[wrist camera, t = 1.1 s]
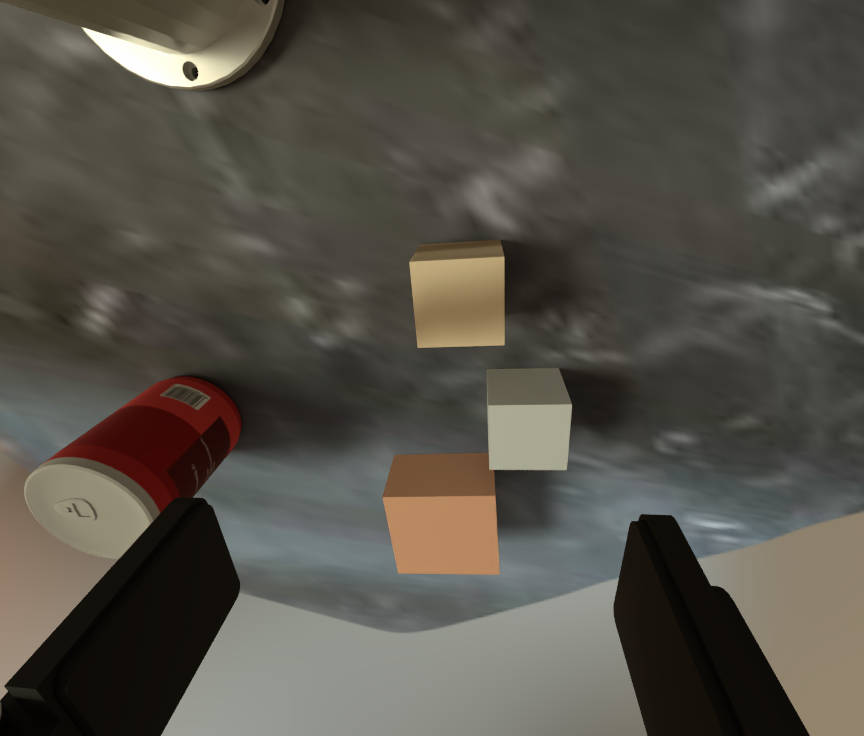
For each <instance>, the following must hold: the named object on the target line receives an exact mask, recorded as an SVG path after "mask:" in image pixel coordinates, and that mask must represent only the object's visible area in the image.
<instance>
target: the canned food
mask: <svg viewBox="0 0 864 736" xmlns="http://www.w3.org/2000/svg"><path fill="white" fill-rule="evenodd" d="M241 426H242V422H241V416H240V413H239V411H238V408H237V407H236V405H235V404H234V402H233V401H232V400H231V399H230V397H229V396H228V395H227V394H226V393H224V392H223V391H222V390H221V389H220V388H218V387H216V386H215V385H213V384H211V383H209V382H207V381H204V380H202V379H198V378H194V377H186V376H182V377H174V378H170V379H167V380H163V381H160V382H158V383H156V384H154V385H153V386H151V387H150V388H148V389H147V390H146V391H144V392H143V393H141V394H140V395H138V396H137V397H136V398H134V399H133V400H131V401H130V402H129V403H127V404H126V405H124V406H123V407H121V408H120V409H119V410H117V411H116V412H114V413H113V414H112V415H110V416H109V417H107V418H106V419H104V420H103V421H102V422H100V423H99V424H97V425H96V426H95V427H93V428H92V429H90V430H89V431H87V432H86V433H85V434H83V435H82V436H80V437H79V438H78V439H76V440H75V441H73V442H72V443H70V444H69V445H68V446H66V447H65V448H63V449H62V450H61V451H59V452H58V453H56V454H55V455H54V456H53V457H51V458H50V459H49V460H47V461H46V462H44V463H43V464H42V465H41V466H40V467H39V468H38V469H37V470H35V471H34V472H33V473H32V474H31V475H30V476H29V477H28V478H27V481H26V483H25V488H24V495H25V499H26V503H27V505H28V507H29V509H30V511H31V513H32V514H33V515H34V517H35V518H36V519H37V521H38V522H39V523H40V524H41V525H42V526H43V527H44V528H45V529H46V530H48V531H49V532H50V533H51V534H52V535H54V536H55V537H57V538H58V539H60V540H61V541H63V542H64V543H66V544H68V545H70V546H72V547H74V548H76V549H78V550H80V551H83V552H86V553H89V554H91V555H96V556H99V557H105V558H112V559H119V558H120V557H121V556H122V555H123V554H124V553H125V552H126V551H127V550H128V549H129V547H130V546H131V545H132V544H133V543H134V542H135V541H136V540H137V539H138V537H139V536H140V535H141V534H142V533H143V532H144V531H145V530H146V529H147V528H148V526H149V525H150V524H151V523H152V522H153V521H154V520H155V519H156V518H157V516H158V515H159V514H160V513H161V512H162V511H163V510H164V509H165V508H166V506H167V505H168V504H169V503H170V502H171V501H172V500H173V499H175V498H177V497H188V498H193V497H194V495H195V494H196V493H197V492H198V491H199V489H200V488H201V487H202V486H203V484H204V483H205V482H206V481H207V480H208V478H209V477H210V476H211V475H212V473H213V472H214V471H215V470H216V469H217V467H218V466H219V465H220V464H221V463H222V461H223V460H224V459H225V458H226V456H227V455H228V454H229V453H230V452H231V450H232V449H233V448H234V446H235V445H236V444H237V441H238V439H239V436H240V432H241Z"/></svg>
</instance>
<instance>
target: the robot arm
mask: <svg viewBox="0 0 864 736" xmlns="http://www.w3.org/2000/svg"><path fill="white" fill-rule="evenodd" d="M0 2H3V3H7V4H10V5H13V6H16V7H19V8H22V9H26V10H29V11H32V12H35V13H38V14H42V15H45V16H48V17H51V18H54V19H57V20H61V21H64V22H67V23H70V24H73V25H76V26H80V27H81V28H82V29H83V31H84V32H85V33H86V35H87V36H88V37H89V38H90V39H91V40H92V41H93V42H94V43H95V44H96V45H97V46H98V47H99V48H100V49H101V50H102V51H103V52H104V53H105V54H106V55H107V56H109V57H110V58H111V59H113V60H114V61H115V62H117V63H118V64H119V65H121V66H122V67H123V68H125V69H126V70H127V71H129V72H131V73H133V74H135V75H137V76H139V77H141V78H143V79H145V80H147V81H149V82H152V83H155V84H159V85H162V86H165V87H169V88H174V89H180V90H186V91H203V90H212V89H215V88H218V87H221V86H225V85H228V84H230V83H231V82H233V81H235V80H236V79H238V78H239V77H241V76H243V75H244V74H246V73H247V72H248V71H249V70H250V69H251V68H252V67H253V66H254V65H255V64H256V63H257V62H258V61H259V60H260V58H261V57H262V55H263V54H264V52H265V51H266V49H267V47H268V46H269V44H270V43H271V41H272V39H273V37H274V34H275V32H276V29H277V27H278V24H279V21H280V19H281V16H282V12H283V7H284V2H285V0H269V2H268V4H266V3H265V0H0ZM197 69H198V77H197V75H196V71H197ZM239 590H240V581H239V578H238V575H237V573H236V570H235V567H234V564H233V562H232V559H231V556H230V553H229V551H228V548H227V545H226V542H225V540H224V537H223V534H222V531H221V529H220V526H219V523H218V520H217V518H216V515H215V512H214V509H213V507H212V506H211V505H208V503H207V501H206V500H205V499H203V498H188V497H177V498H175V499H173V500H172V501H171V502H170V503H169V504H168V505H167V506H166V508H165V509H164V510H163V511H162V512H161V513H160V514H159V515H158V516H157V518H156V519H155V520H154V521H153V522H152V523H151V524H150V525H149V526H148V528H147V529H146V530H145V531H144V532H143V533H142V534H141V535H140V536H139V537H138V539H137V540H136V541H135V542H134V543H133V544H132V545H131V546H130V547H129V549H128V550H127V551H126V552H125V553H124V554H123V555H122V556H121V557H120V558H119V560H118V561H117V562H116V563H115V564H114V565H113V567H111V569H110V570H109V571H108V572H107V573H106V574H105V575H104V576H103V577H102V578H101V580H100V581H99V582H98V583H97V584H96V585H95V586H94V587H93V589H91V591H90V592H89V593H88V594H87V595H86V596H85V597H84V598H83V600H82V601H81V602H80V603H79V604H78V605H77V606H76V607H75V608H74V609H73V611H72V612H71V613H70V614H69V615H68V616H67V617H66V618H65V619H64V620H63V622H62V623H61V624H60V625H59V626H58V627H57V628H56V630H54V632H53V633H52V634H51V635H50V636H49V637H48V638H47V639H46V640H45V642H44V643H43V644H42V645H41V646H40V647H39V648H38V649H37V650H36V652H35V653H34V654H33V655H32V656H31V657H30V658H29V659H28V660H27V662H26V663H25V664H24V665H23V666H22V667H21V668H20V669H19V671H17V673H16V674H15V675H14V676H13V677H12V678H11V679H10V680H9V681H8V682H7V684H6V685H5V686H4V687H5V688H6V689H7V690H8V692H7V693H6V695H5V696H4V697H3V698H2V699H1V700H0V736H161V734H162V733H163V731H164V729H165V727H166V725H167V724H168V721H169V720H170V718H171V716H172V714H173V713H174V711H175V709H176V707H177V706H178V704H179V702H180V700H181V698H182V696H183V695H184V693H185V691H186V689H187V687H188V686H189V684H190V682H191V680H192V678H193V677H194V675H195V673H196V671H197V669H198V668H199V666H200V664H201V662H202V660H203V659H204V657H205V655H206V653H207V651H208V650H209V648H210V646H211V644H212V642H213V641H214V639H215V637H216V635H217V633H218V632H219V630H220V628H221V626H222V624H223V623H224V621H225V619H226V617H227V615H228V614H229V612H230V610H231V608H232V606H233V605H234V603H235V601H236V599H237V597H238V594H239ZM614 618H615V623H616V627H617V630H618V634H619V637H620V641H621V644H622V648H623V651H624V655H625V658H626V661H627V665H628V669H629V672H630V676H631V679H632V683H633V686H634V690H635V693H636V697H637V700H638V704H639V707H640V710H641V714H642V718H643V721H644V725H645V728H646V732H647V735H648V736H810V735H809V733H808V732H807V730H806V728H805V726H804V725H803V723H802V721H801V719H800V717H799V716H798V714H797V712H796V711H795V709H794V707H793V705H792V703H791V702H790V700H789V698H788V696H787V694H786V693H785V691H784V689H783V687H782V686H781V684H780V682H779V680H778V679H777V677H776V675H775V673H774V672H773V670H772V668H771V666H770V664H769V663H768V661H767V659H766V657H765V656H764V654H763V652H762V650H761V649H760V647H759V645H758V643H757V642H756V640H755V638H754V636H753V634H752V633H751V631H750V629H749V628H748V626H747V624H746V622H745V620H744V619H743V617H742V615H741V614H740V612H739V610H738V608H737V606H736V604H735V603H734V601H733V600H732V598H731V597H730V595H729V594H728V593H727V592H726V591H725V590H724V589H723V588H721V587H718V586H711V585H710V584H709V582H708V579H707V578H706V576H705V574H704V572H703V570H702V568H701V567H700V564H699V563H698V561H697V559H696V557H695V555H694V553H693V551H692V549H691V548H690V546H689V544H688V542H687V540H686V538H685V536H684V534H683V533H682V531H681V529H680V527H679V525H678V523H677V521H676V520H675V518H674V517H672V516H671V515H647V514H641V516H640V517H639V520H638V521H632V522H631V523H630V527H629V531H628V536H627V541H626V546H625V551H624V556H623V561H622V566H621V571H620V576H619V581H618V586H617V591H616V596H615V601H614Z"/></svg>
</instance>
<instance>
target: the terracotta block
mask: <svg viewBox="0 0 864 736" xmlns="http://www.w3.org/2000/svg"><path fill="white" fill-rule="evenodd" d="M383 502H384V506H385V511H386V516H387V521H388V526H389V530H390V535H391V540H392V545H393V550H394V555H395V559H396V564H397V569H398V573H409V574H500V571H499V552H498V532H497V514H496V496H495V477H494V470H489V453H456V454H417V455H394V458H393V461H392V465H391V469H390V472H389V476H388V480H387V483H386V487H385V490H384V494H383Z"/></svg>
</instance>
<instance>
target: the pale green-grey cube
mask: <svg viewBox="0 0 864 736" xmlns="http://www.w3.org/2000/svg"><path fill="white" fill-rule="evenodd" d="M487 407H488V445H489V470H567V461H568V449H569V436H570V424H571V412H572V403H571V400H570V397H569V395H568V392H567V389H566V387H565V384H564V381H563V379H562V376H561V373H560V370H559V368H528V369H487Z"/></svg>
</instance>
